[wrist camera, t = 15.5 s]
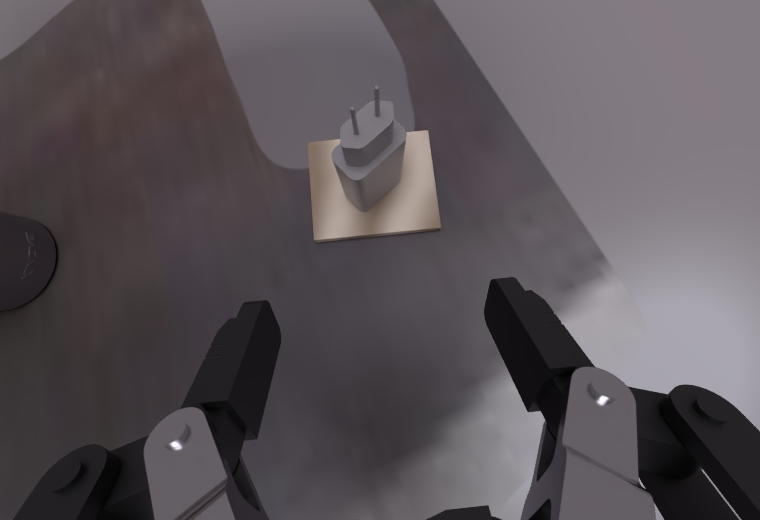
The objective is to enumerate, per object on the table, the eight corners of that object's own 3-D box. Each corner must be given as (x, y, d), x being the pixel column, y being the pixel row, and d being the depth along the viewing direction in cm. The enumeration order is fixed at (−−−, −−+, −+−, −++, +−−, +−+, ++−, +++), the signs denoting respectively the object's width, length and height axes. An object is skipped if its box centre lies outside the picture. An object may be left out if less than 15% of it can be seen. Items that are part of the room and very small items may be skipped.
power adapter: (341, 192, 28) (309, 109, 16) (382, 156, 28) (380, 49, 16) (363, 215, 27) (347, 147, 16) (404, 178, 28) (418, 84, 16)
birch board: (316, 242, 28) (314, 240, 27) (310, 147, 30) (307, 142, 29) (439, 230, 28) (441, 227, 27) (426, 136, 30) (427, 130, 29)
